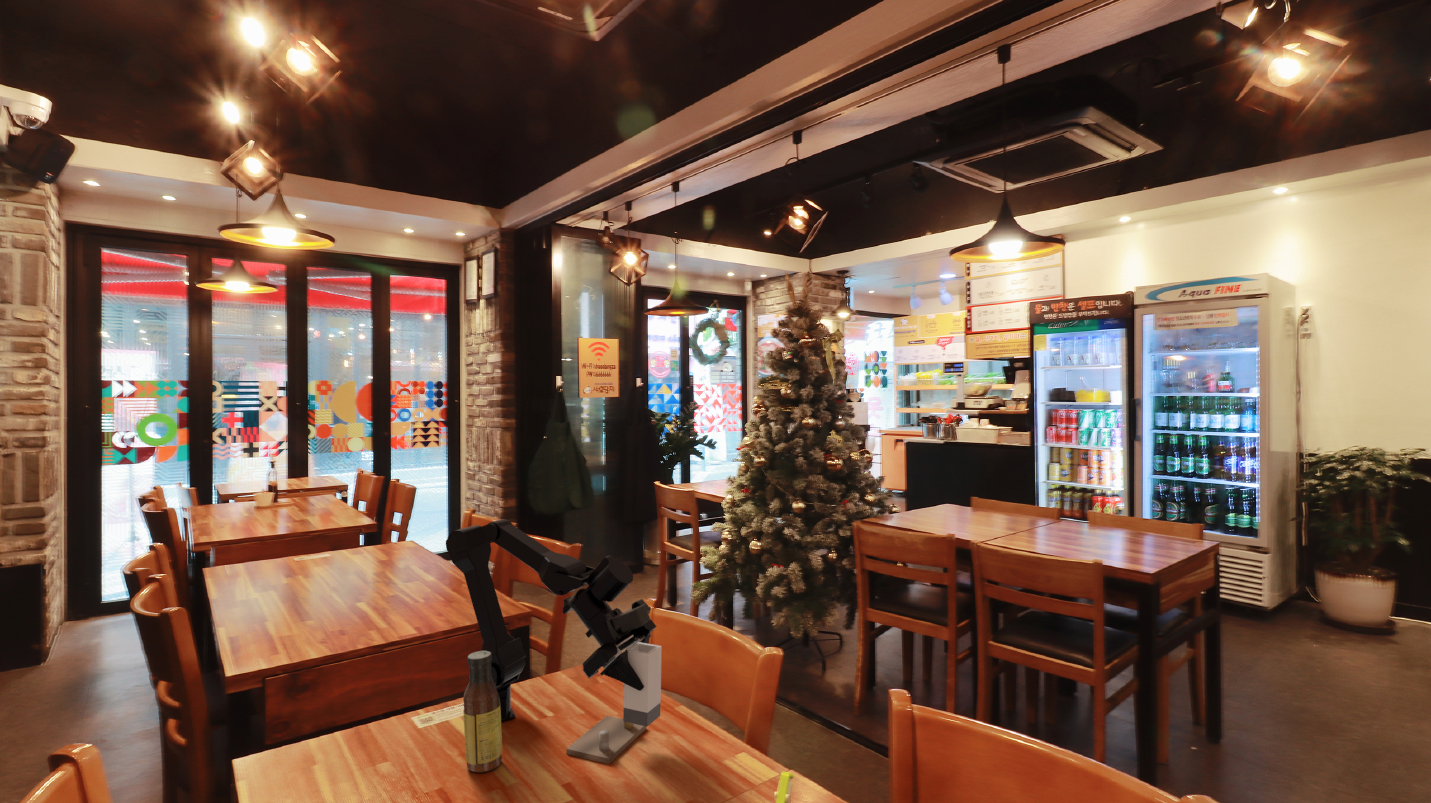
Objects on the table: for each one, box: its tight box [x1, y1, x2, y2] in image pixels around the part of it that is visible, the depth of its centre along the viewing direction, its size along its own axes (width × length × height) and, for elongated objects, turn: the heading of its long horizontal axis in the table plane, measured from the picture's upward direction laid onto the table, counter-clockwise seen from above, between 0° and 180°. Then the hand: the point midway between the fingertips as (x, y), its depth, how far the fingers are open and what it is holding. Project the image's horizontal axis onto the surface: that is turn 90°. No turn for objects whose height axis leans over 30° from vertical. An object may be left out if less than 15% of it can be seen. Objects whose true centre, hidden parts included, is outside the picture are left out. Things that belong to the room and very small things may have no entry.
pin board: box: [565, 715, 647, 765], centre depth 131 cm, size 9×14×4 cm, turn 157°
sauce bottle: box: [462, 650, 503, 774], centre depth 123 cm, size 6×6×20 cm
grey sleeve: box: [622, 642, 663, 728], centre depth 128 cm, size 5×5×13 cm
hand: (649, 683), depth 128 cm, fingers closed on grey sleeve, 5 cm apart
